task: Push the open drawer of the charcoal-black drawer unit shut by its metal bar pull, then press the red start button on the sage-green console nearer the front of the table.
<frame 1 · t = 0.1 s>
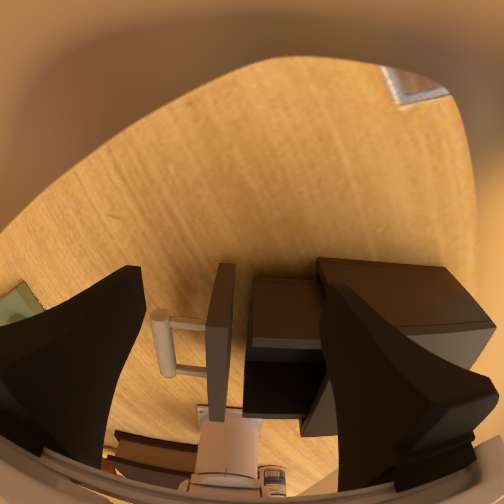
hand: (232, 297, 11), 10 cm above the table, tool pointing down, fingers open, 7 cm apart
cat figurine: (106, 461, 35), point 5 cm above the table, touching book
console: (24, 319, 26), on the table
book: (183, 467, 43), on the table, touching cat figurine
drawer: (263, 351, 20), point 4 cm above the table, slide at 6.0 cm
cabinet: (370, 318, 24), on the table
pill bottle: (270, 468, 42), on the table
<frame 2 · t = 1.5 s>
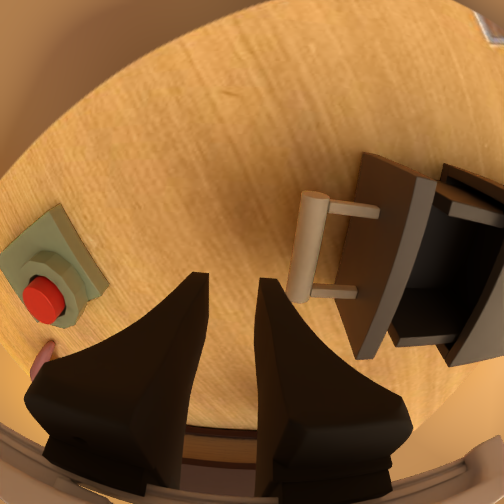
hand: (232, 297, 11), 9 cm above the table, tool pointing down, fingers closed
pink pronged piece: (75, 368, 28), on the table
console: (48, 266, 21), on the table
book: (226, 462, 38), on the table, touching cat figurine
drawer: (415, 256, 16), point 4 cm above the table, slide at 6.0 cm
cabinet: (475, 242, 20), on the table
start button: (43, 300, 18), point 4 cm above the table, slide at 0.1 cm
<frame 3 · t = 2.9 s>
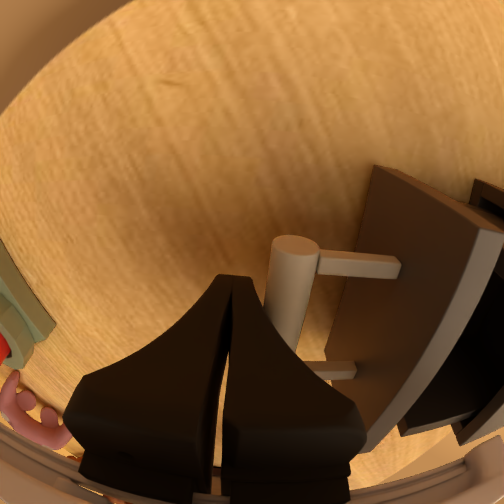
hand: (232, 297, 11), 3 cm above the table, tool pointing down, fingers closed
pink pronged piece: (43, 398, 23), on the table
drawer: (440, 318, 10), point 4 cm above the table, slide at 5.7 cm, touching gripper
cabinet: (502, 276, 14), on the table
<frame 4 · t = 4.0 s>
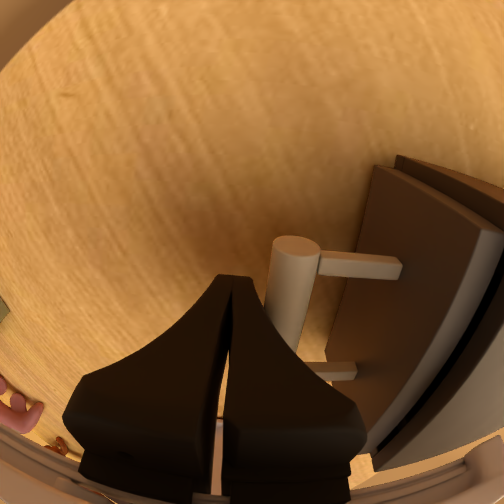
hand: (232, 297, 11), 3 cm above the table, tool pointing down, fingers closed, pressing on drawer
cat figurine: (82, 476, 25), point 5 cm above the table, touching book
pink pronged piece: (13, 384, 23), on the table
drawer: (441, 318, 10), point 4 cm above the table, slide at 0.2 cm, touching gripper
cabinet: (455, 272, 14), on the table
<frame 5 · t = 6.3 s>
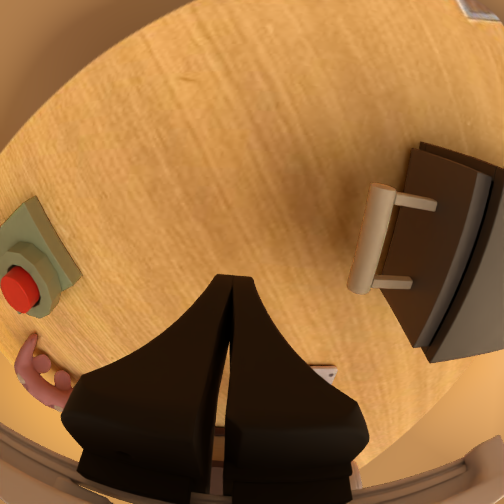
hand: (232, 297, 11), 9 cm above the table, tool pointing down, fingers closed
pink pronged piece: (58, 361, 28), on the table
console: (28, 258, 21), on the table
book: (213, 460, 38), on the table, touching cat figurine
drawer: (460, 247, 15), point 4 cm above the table, slide at 0.0 cm, touching cabinet
cabinet: (462, 228, 19), on the table
start button: (19, 289, 18), point 4 cm above the table, slide at 0.1 cm
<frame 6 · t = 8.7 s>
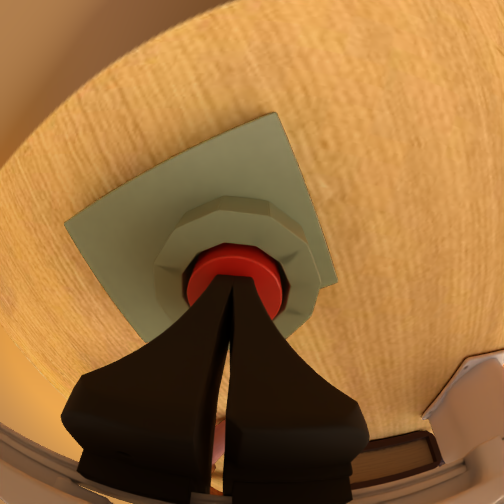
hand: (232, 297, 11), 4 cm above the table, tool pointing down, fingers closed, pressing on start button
pink pronged piece: (180, 402, 21), on the table
console: (198, 236, 14), on the table
book: (331, 478, 31), on the table, touching cat figurine
start button: (235, 286, 11), point 3 cm above the table, slide at -0.8 cm, touching gripper
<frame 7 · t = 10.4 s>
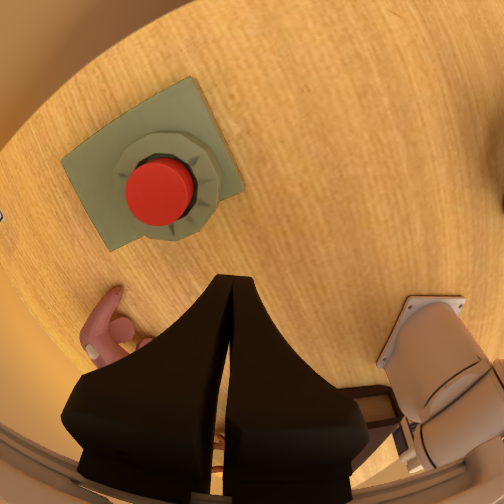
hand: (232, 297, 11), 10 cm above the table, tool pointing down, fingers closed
pink pronged piece: (143, 327, 25), on the table
console: (149, 166, 18), on the table
book: (300, 439, 36), on the table, touching cat figurine
start button: (159, 191, 15), point 4 cm above the table, slide at 0.1 cm
pill bottle: (404, 417, 35), on the table
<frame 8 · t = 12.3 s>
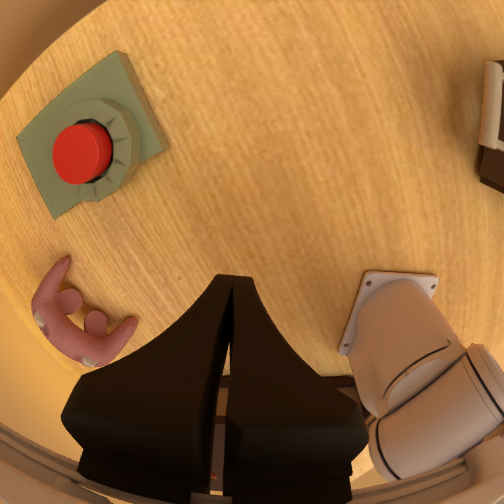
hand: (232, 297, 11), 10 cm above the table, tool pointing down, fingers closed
pink pronged piece: (92, 300, 24), on the table
console: (87, 137, 17), on the table
book: (267, 433, 34), on the table, touching cat figurine
start button: (81, 152, 14), point 4 cm above the table, slide at 0.1 cm
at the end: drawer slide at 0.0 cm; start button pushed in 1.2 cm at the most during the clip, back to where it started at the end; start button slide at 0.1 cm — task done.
